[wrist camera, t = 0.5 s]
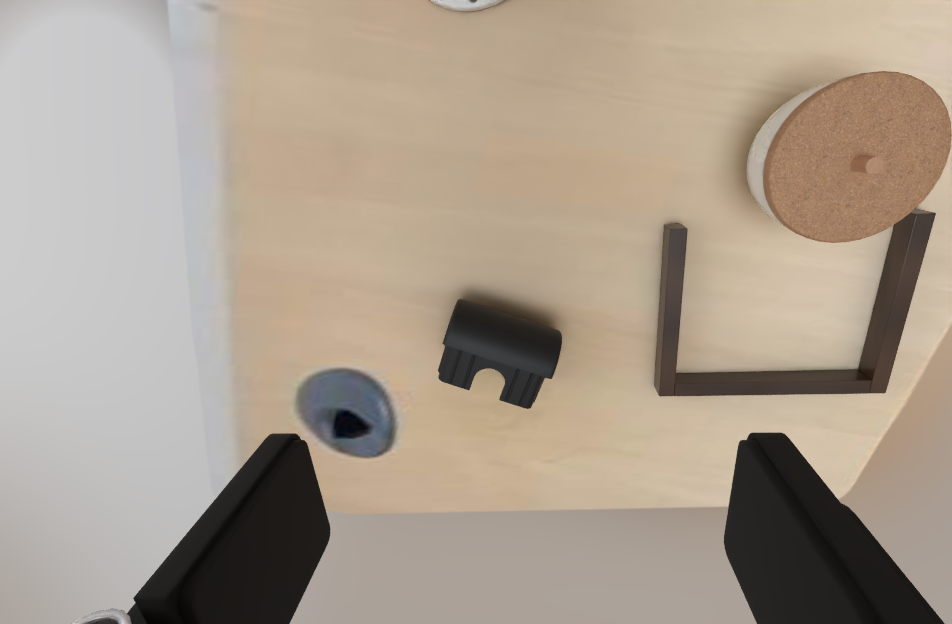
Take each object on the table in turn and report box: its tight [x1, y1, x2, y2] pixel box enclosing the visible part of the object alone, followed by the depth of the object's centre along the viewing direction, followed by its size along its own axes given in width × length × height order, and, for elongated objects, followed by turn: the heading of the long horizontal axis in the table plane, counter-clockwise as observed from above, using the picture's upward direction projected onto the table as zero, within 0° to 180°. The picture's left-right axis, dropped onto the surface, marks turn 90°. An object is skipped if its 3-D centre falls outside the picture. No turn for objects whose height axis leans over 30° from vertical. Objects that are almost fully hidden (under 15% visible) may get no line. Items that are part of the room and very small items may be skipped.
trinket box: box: [747, 71, 951, 243], centre depth 33 cm, size 11×11×9 cm
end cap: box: [438, 299, 562, 409], centre depth 43 cm, size 10×7×7 cm
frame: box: [654, 209, 936, 396], centre depth 41 cm, size 16×20×2 cm
